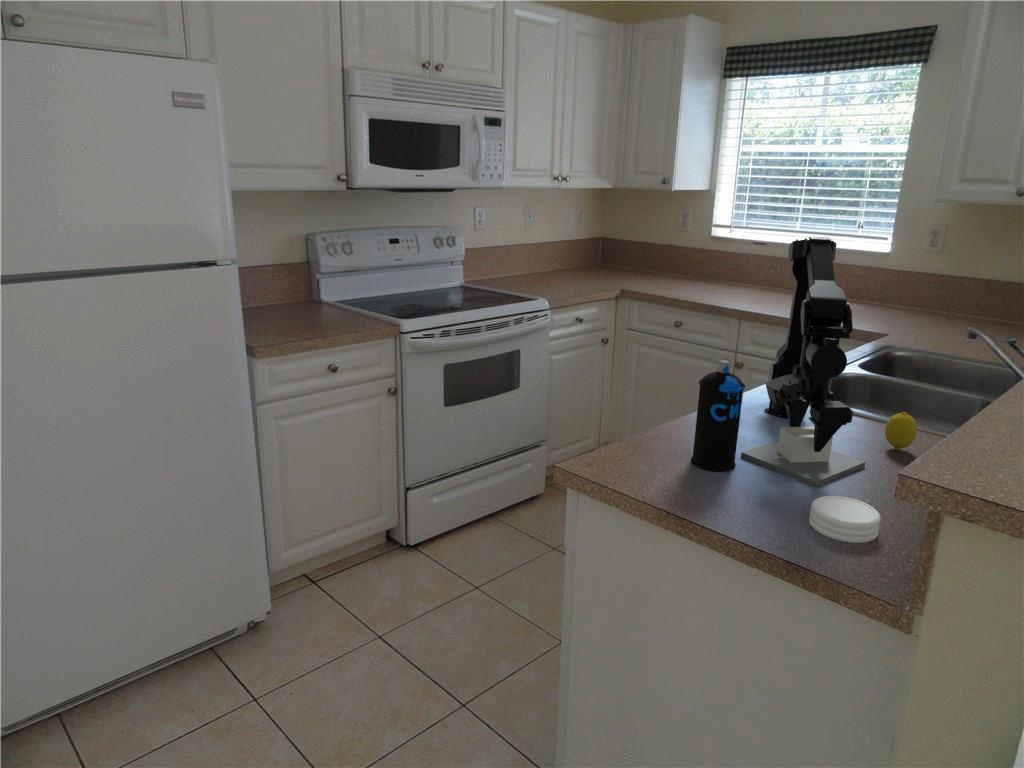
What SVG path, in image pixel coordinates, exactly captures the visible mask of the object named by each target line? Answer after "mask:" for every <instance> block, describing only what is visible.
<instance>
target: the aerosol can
mask: <svg viewBox="0 0 1024 768" xmlns="http://www.w3.org/2000/svg"><path fill="white" fill-rule="evenodd" d="M730 364H731V361H729V360H726V359H720V360H718V366H717V367H718V368H717V370H716V371H713V372H709V373H708V374H705V375H704V376H703V377H702V378H701V379H699V381H698V386H699V392H698V393H699V394H698V402H697V412H696V421H695V429H694V430H695V432H694V440H693V441H694V442H693V449H692V450H693V451H692V456H691V458H690V462H691V463H692V464H693V465H694V466H695V467H697V468H699V469H701V470H704V471H709V472H714V473H715V472H716V473H717V472H719V473H725V472H729V471H733V470H734V469H735V468H736V467H737V465H736V464H737V463H736V462H735V461H736V453H737V447H738V446H737V445H738V437H739V429H740V421H741V413H742V405H743V396H744V390H745V388H746V385H745V383H744V382H743V381H742V380H741V378H740V377H738V376H737V375H735V374H733V373H731V372H730V366H731V365H730Z"/></svg>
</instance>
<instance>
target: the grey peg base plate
mask: <svg viewBox="0 0 1024 768" xmlns="http://www.w3.org/2000/svg"><path fill="white" fill-rule="evenodd" d="M778 444H779V439H777V440H775V441H774V440H773V441H771V442H768V443H765V444H762V445H759V446H756V447H753V448H750V449H747V450H743V451H741V453H740V457H741V458H742V459H745V460H747V461H750V462H752V463H756V464H758V465H760V466H762V467H766V468H767V469H770V470H772V471H775V472H777V473H780V474H782V475H785V476H787V477H790V478H793V479H795V480H798V481H800V482H802V483H805V484H808V485H810V486H812V487H815V488H816V487H820V486H822V485H824V484H826V483H829V482H831V481H833V480H837V479H839V478H840V477H843V476H846V475H848V474H851V473H853V472H856V471H858V470H860V469H862V468H863V469H864V468H865V466H866V461H863V460H861V459H858V458H855V457H852V456H849V455H847V454H844V453H840V452H839V451H835V450H832V449H831V452H830V458H829V462H799V463H791V462H789V461H788V460H787V459H786V458H785V457H784V456H782V455H781V454H780V453H779V452H778Z"/></svg>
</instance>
